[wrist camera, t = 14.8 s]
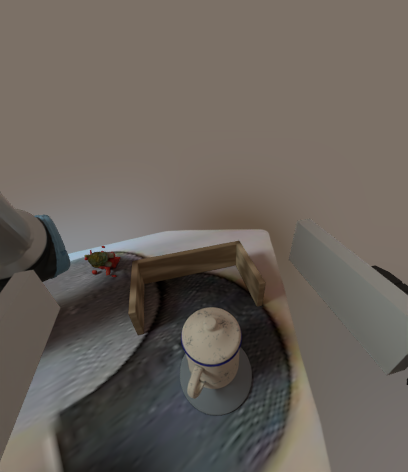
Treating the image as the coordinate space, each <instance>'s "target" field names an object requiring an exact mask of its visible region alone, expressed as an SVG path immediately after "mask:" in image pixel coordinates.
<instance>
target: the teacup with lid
mask: <svg viewBox="0 0 408 472" xmlns="http://www.w3.org/2000/svg"><path fill="white" fill-rule="evenodd" d="M181 342H182V346H183V349H184V351H185V353H186V357H187V361H188V365H189V370H190V373H191V377H190V380H189V383H188V388H187V393H188V395H189V396H190V397H191V398H193V399H195V398H197V397H198V396H199V395H200V393H201V391H202V389H203V387H205V388H209V389H219V388H222V387H224V386H226V385H228V384H229V383H230V382H231V381H232V380H233V379H234V377H235V376H236V373H237V371H238V366H239V350H240V346H241V342H242V333H241V329H240V326H239V324H238V322H237V321H236V319H235V318H234V317H233V316H232V315H231V314H230V313H228V312H227V311H225V310H223V309H220V308H214V307H210V308H204V309H201V310H198V311H196V312H195V313H193V314H192V315H191V316H190V317H189V318H188V319H187V321H186V322H185V324H184V327H183V329H182V334H181Z"/></svg>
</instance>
